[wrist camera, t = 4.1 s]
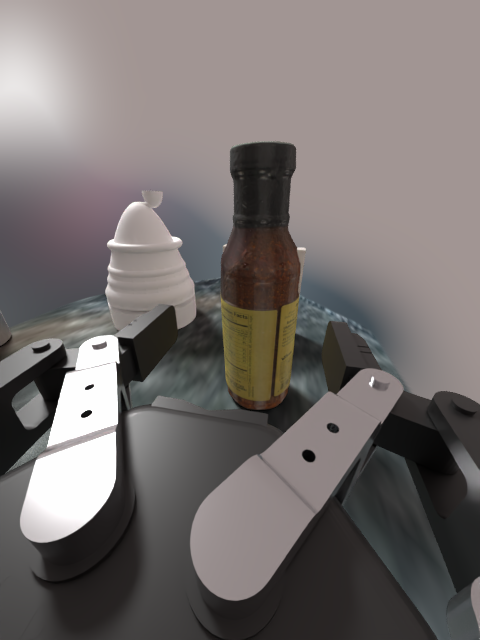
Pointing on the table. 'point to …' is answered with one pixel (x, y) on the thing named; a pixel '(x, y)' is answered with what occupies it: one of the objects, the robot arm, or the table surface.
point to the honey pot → (147, 267)
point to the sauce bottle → (260, 276)
